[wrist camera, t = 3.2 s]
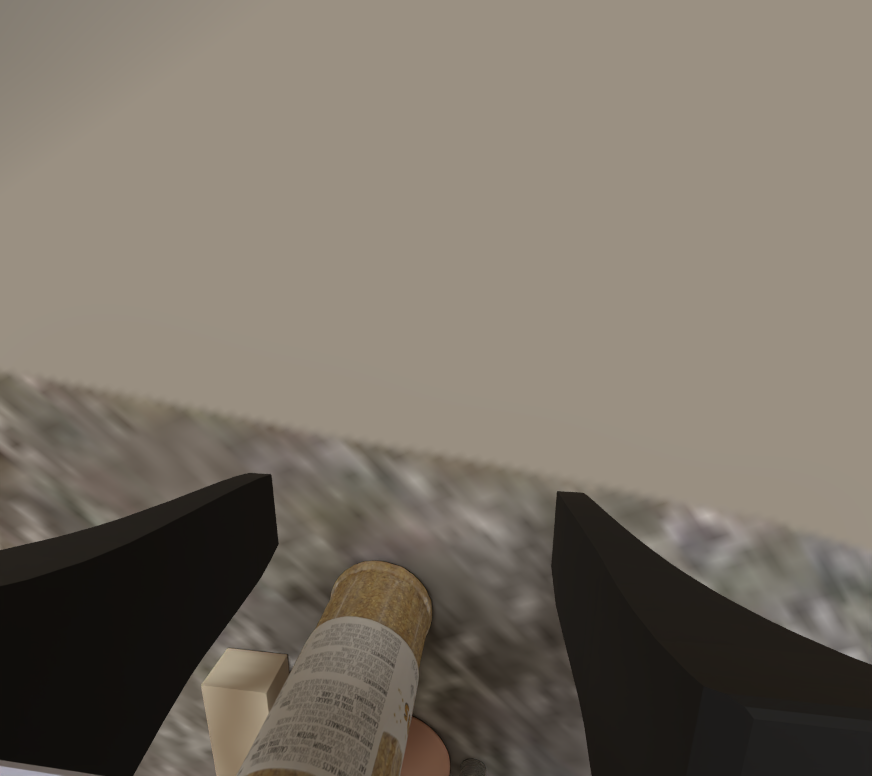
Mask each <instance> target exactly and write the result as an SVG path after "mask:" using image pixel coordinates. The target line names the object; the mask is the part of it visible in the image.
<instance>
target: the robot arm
mask: <svg viewBox="0 0 872 776" xmlns="http://www.w3.org/2000/svg"><path fill="white" fill-rule="evenodd" d="M278 544H279V543H278V534H277V524H276V514H275V505H274V495H273V486H272V476H271V474H257V473H247V474H243V475H239V476H236V477H233V478H230V479H227V480H224V481H221V482H218V483H216V484H213V485H210V486H208V487H205V488H202V489H200V490H197V491H195V492H192V493H189V494H187V495H184V496H182V497H179V498H176V499H174V500H171V501H169V502H166V503H163V504H160V505H157V506H155V507H152V508H149V509H146V510H143V511H141V512H138V513H135V514H132V515H129V516H127V517H124V518H121V519H118V520H115V521H112V522H108V523H105V524H102V525H99V526H95V527H92V528H88V529H85V530H81V531H78V532H74V533H71V534H67V535H63V536H60V537H56V538H51V539H47V540H43V541H38V542H34V543H30V544H25V545H21V546H17V547H12V548H8V549H4V550H0V776H133V775H134V773H135V771H136V770H137V768H138V766H139V764H140V762H141V761H142V759H143V757H144V755H145V754H146V752H147V750H148V748H149V746H150V745H151V743H152V741H153V739H154V737H155V736H156V734H157V732H158V730H159V728H160V727H161V725H162V723H163V721H164V720H165V718H166V716H167V715H168V713H169V711H170V710H171V708H172V706H173V705H174V703H175V701H176V700H177V698H178V696H179V695H180V693H181V691H182V689H183V688H184V686H185V684H186V683H187V681H188V679H189V678H190V676H191V675H192V673H193V672H194V670H195V669H196V667H197V666H198V664H199V663H200V661H201V660H202V658H203V657H204V656H205V654H206V653H207V651H208V650H209V649H210V647H211V646H212V645H213V643H214V642H215V641H216V639H217V638H218V636H219V635H220V634H221V632H222V631H223V630H224V628H225V627H226V626H227V624H228V623H229V621H230V620H231V619H232V617H233V616H234V615H235V613H236V612H237V611H238V609H239V608H240V606H241V605H242V604H243V602H244V601H245V599H246V598H247V597H248V595H249V594H250V593H251V591H252V590H253V588H254V587H255V585H256V584H257V583H258V581H259V580H260V578H261V576H262V575H263V573H264V571H265V569H266V568H267V566H268V564H269V562H270V560H271V558H272V556H273V554H274V552H275V550H276V548H277V546H278ZM551 567H552V576H553V585H554V593H555V601H556V607H557V612H558V616H559V620H560V624H561V628H562V632H563V637H564V641H565V645H566V649H567V653H568V657H569V661H570V665H571V669H572V673H573V677H574V681H575V685H576V689H577V693H578V697H579V702H580V707H581V712H582V716H583V721H584V727H585V734H586V740H587V747H588V754H589V760H590V767H591V774H592V776H872V665H871V664H868V663H865V662H863V661H860V660H857V659H855V658H852V657H850V656H847V655H845V654H842V653H840V652H838V651H836V650H833V649H831V648H829V647H826V646H824V645H822V644H819V643H817V642H815V641H813V640H810V639H808V638H806V637H803V636H801V635H799V634H797V633H795V632H792V631H790V630H788V629H786V628H784V627H782V626H780V625H778V624H776V623H773V622H771V621H769V620H767V619H765V618H763V617H761V616H760V615H758V614H756V613H754V612H752V611H750V610H748V609H746V608H744V607H742V606H740V605H738V604H737V603H735V602H733V601H731V600H729V599H727V598H726V597H724V596H722V595H720V594H718V593H717V592H715V591H713V590H712V589H710V588H708V587H707V586H705V585H703V584H702V583H700V582H699V581H697V580H695V579H694V578H692V577H691V576H689V575H687V574H686V573H684V572H683V571H681V570H680V569H678V568H677V567H675V566H674V565H672V564H671V563H669V562H668V561H667V560H665V559H664V558H662V557H661V556H660V555H658V554H657V553H656V552H654V551H653V550H652V549H650V548H649V547H647V546H646V545H645V544H644V543H642V542H641V541H640V540H639V539H637V538H636V537H635V536H634V535H632V534H631V533H630V532H629V531H627V530H626V529H625V528H624V527H623V526H622V525H620V524H619V523H618V522H617V521H616V520H615V519H613V518H612V517H611V516H610V515H609V514H608V513H607V512H605V511H604V510H603V509H602V508H601V507H600V506H599V505H597V504H596V503H595V502H594V501H593V500H592V499H591V498H589V497H588V496H587V495H586V494H584V493H577V492H560V491H557V499H556V512H555V525H554V538H553V551H552V565H551Z"/></svg>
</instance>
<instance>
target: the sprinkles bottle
mask: <svg viewBox="0 0 872 776" xmlns="http://www.w3.org/2000/svg"><path fill="white" fill-rule="evenodd" d="M431 620H432V606H431V600H430V597H429V596H428V593H427V591H426V589H425V587H424V586H423V585H422V583H421V582H420V581H419V580H418V579H417V578H416V577H415V576H414V575H413V574H411V573H410V572H409V571H407V570H406V569H405V568H403V567H400V566H397V565H394V564H390V563H388V562H382V561H363V562H361V563H358V564H356V565H354V566H352V567H350V568H349V569H347V570H346V571H344V572H343V574H342V575H341V576H339V578H338V579H337V581H336V582H335V584H334V586H333V589H332V592H331V598H330V601H329V603H328V604H327V607H326V609H325V611H324V613H323V615H322V617H321V619H320V621H319V623H318V625H317V627H316V629H315V630H314V631H313V632H312V634H311V635H310V636H309V638H308V640H307V641H306V643H305V645H304V647H303V649H302V651H301V653H300V655H299V657H298V658H297V660H296V662H295V664H294V666H293V668H292V670H291V672H290V674H289V676H288V678H287V680H286V682H285V683H284V685H283V687H282V689H281V691H280V693H279V695H278V697H277V699H276V701H275V703H274V705H273V707H272V708H271V710H270V712H269V714H268V716H267V718H266V720H265V722H264V724H263V725H262V727H261V729H260V731H259V733H258V735H257V737H256V739H255V741H254V743H253V745H252V747H251V749H250V751H249V753H248V754H247V756H246V758H245V760H244V762H243V764H242V766H241V768H240V769H239V771H238V773H237V775H236V776H400V773H401V768H402V763H403V758H404V753H405V748H406V743H407V738H408V732H409V727H410V723H411V718H412V713H413V707H414V702H415V697H416V692H417V687H418V680H419V666H420V660H421V657H422V651H423V647H424V642H425V637H426V635H427V633H428V631H429V628H430V625H431Z"/></svg>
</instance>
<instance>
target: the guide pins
mask: <svg viewBox="0 0 872 776" xmlns="http://www.w3.org/2000/svg"><path fill="white" fill-rule="evenodd" d="M460 776H486V768H485V766H484V764H483V763H482V762H480V761H478V760H475V759H467V760H465V761H463V762H462V764H461V769H460Z"/></svg>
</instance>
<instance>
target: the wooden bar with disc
mask: <svg viewBox="0 0 872 776" xmlns="http://www.w3.org/2000/svg"><path fill="white" fill-rule="evenodd" d="M288 676H289V666H288V657H287V655H286V654H277V653H268V652H259V651H250V650H241V649H232V648H227V649H226V651H225V652H224V654H223V655H222V656H221V658H220V659H219V661H218V662H217V664H216V665H215V666H214V668H213V669H212V671H211V672H210V673H209V675H208V676H207V678H206V679H205V680H204V682H203V683H202V685H201V687H202V693H203V699H204V705H205V711H206V716H207V722H208V728H209V734H210V740H211V746H212V752H213V757H214V763H215V769H216V775H217V776H236V775H237V773H238V771H239V769H240V768H241V766H242V764H243V762H244V760H245V758H246V756H247V754H248V753H249V751H250V749H251V747H252V745H253V743H254V741H255V739H256V737H257V735H258V733H259V731H260V729H261V727H262V725H263V724H264V722H265V720H266V718H267V716H268V714H269V712H270V710H271V708H272V707H273V705H274V703H275V701H276V699H277V697H278V695H279V693H280V691H281V689H282V687H283V685H284V683H285V682H286V680H287V678H288ZM449 773H450V758H449V754H448V751H447V749H446V746H445V745H444V743H443V741H442V740H441V739H440V737H439V736H438V735H437V734H436V733H435V732H434V731H433V730H432V729H431V728H430V727H429V726H428V725H426V724H425V723H424V722H422V721H420V720H419V719H417V718H415V717H413V716H412V718H411V723H410V727H409V732H408V738H407V743H406V748H405V753H404V758H403V763H402V768H401V773H400V776H449Z"/></svg>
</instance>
